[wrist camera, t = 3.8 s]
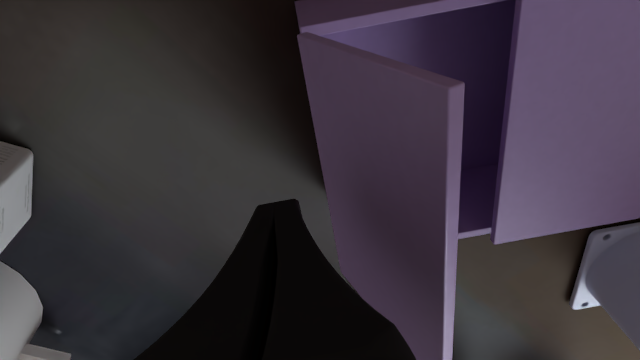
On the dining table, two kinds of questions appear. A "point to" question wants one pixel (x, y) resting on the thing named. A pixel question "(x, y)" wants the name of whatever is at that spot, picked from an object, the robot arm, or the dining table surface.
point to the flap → (391, 183)
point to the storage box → (521, 101)
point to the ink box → (14, 190)
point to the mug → (21, 319)
